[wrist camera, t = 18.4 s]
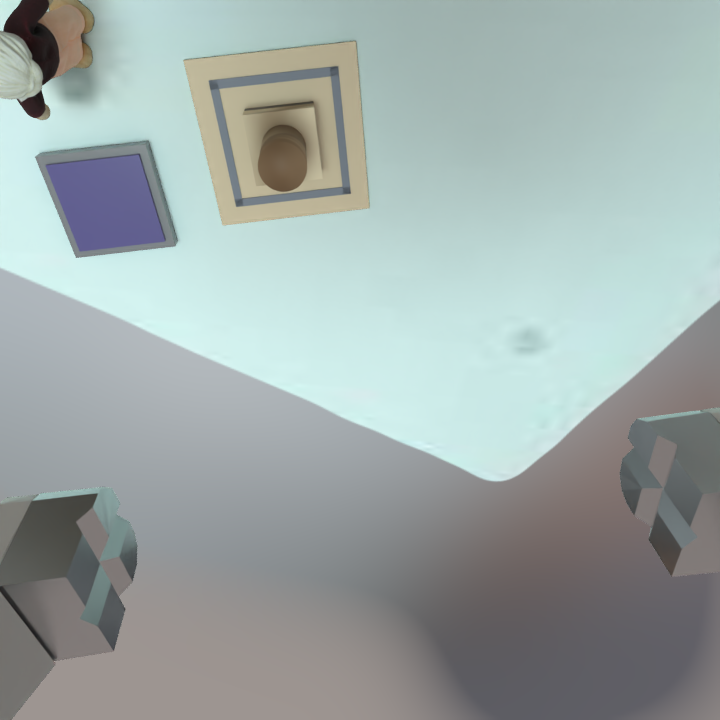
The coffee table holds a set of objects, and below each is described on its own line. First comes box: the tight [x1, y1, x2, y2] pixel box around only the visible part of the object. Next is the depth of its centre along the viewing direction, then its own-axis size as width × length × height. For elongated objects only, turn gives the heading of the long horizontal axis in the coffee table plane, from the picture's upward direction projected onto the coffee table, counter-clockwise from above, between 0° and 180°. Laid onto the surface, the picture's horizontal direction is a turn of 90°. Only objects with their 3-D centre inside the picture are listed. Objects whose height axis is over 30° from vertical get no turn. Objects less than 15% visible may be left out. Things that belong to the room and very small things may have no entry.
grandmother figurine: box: [0, 0, 94, 120], centre depth 33 cm, size 8×4×13 cm, turn 171°
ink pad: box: [35, 141, 177, 258], centre depth 44 cm, size 8×8×1 cm
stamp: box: [243, 101, 323, 192], centre depth 40 cm, size 5×5×7 cm
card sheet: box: [184, 41, 369, 225], centre depth 43 cm, size 12×12×1 cm
